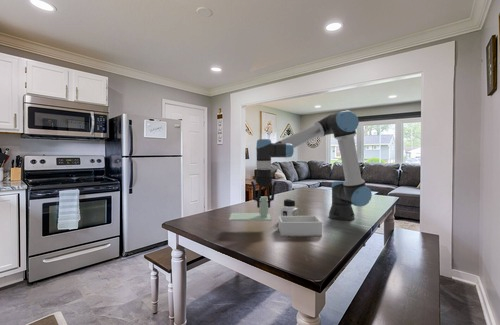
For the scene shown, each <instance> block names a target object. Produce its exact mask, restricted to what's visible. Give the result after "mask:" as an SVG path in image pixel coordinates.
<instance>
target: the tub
mask: <svg viewBox="0 0 500 325" xmlns="http://www.w3.org/2000/svg"><path fill="white" fill-rule="evenodd" d="M278 231H279V235H280V237H281V238H282V237H283V238H284V237H288V236H290V237H323V222H322V220H320V218H319V217H318V216H316V215H298V216H281V215H278Z"/></svg>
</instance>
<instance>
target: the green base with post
mask: <svg viewBox="0 0 500 325" xmlns="http://www.w3.org/2000/svg"><path fill="white" fill-rule="evenodd" d="M260 201H261V214H259V212H231V213H230V215H229V218H228V221H229V222H272V218H271V213H270V212H268V214H267V201H268V198H267V195H266V196H265V195H264V196H261V195H260Z"/></svg>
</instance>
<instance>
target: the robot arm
mask: <svg viewBox="0 0 500 325" xmlns="http://www.w3.org/2000/svg"><path fill="white" fill-rule="evenodd" d="M358 126H359V118H358V116H357V114H356V113H354V111H351V110H342V111H338V112H335V113H332V114H329V115H327V116H325V117H323V118H322V119H320V120H318V121H315V123H314V124H313V125H311V126H309V127H307V128H305V129H303V130H300V131H297V132H295V133H294V134H292V135H289V136H287V137H285V138H282V139H281V140H278V141H276V142H274V143H273V142H272V140H271V139H269V138H261V139H257V141H256V147H255V149H256V178H255V180H252V181H250V184H251V186H252V193H253V194H252V196H253V201H255V202H256V207H257V208H258V209H259V211H258V213H259V214H261V194H262V188H265V190H266V191H265V192H266V197H267V214H268V213H269V208H271V202H272V201H274V199H275V190H276V185H277V181H274V180H273V178H272V158H286V159H287V158H292V157H293V155H294V152H295V151H294V149H296V148H297V147H300V146H302V145H304V144H306V143H309V142H310V141H313V140H315V139H316V138H319V137H320V138H323V137H325V136H329V135H333V137H334V138H333V139H336V140H337V143H338V144H337V145H338V149H339V155H340V159H341V165H342V170H343V175H344V180H341V181H340V180H338V181H335V180H334V181H332V183H331V206H330V209H329V212H328V217H329V218H330V219H332V220H338V221H352V220H354V219H355V212H354V208H353V207H352V205H353V206H355V207H361V208H362V207H365V206H367V205H368V204H369V203H370V201H371V199H372V196H373V194H372V190H371V188H369V187H368V186H366V181H365V180H364V179H363V178H362V175H361V169H360V164H359V158H358V153H357V148H356V142H355V136H356V134H357V131H356V130H357V129H358ZM256 184H257V185H258V194H256ZM270 185H272V188H271V196H270V189H269V186H270Z"/></svg>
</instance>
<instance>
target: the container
mask: <svg viewBox="0 0 500 325" xmlns="http://www.w3.org/2000/svg"><path fill="white" fill-rule="evenodd" d="M280 216H299V208H298V207H296V201H295V200H294V199H292V198H285V199H284V200H283V208H280Z"/></svg>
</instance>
